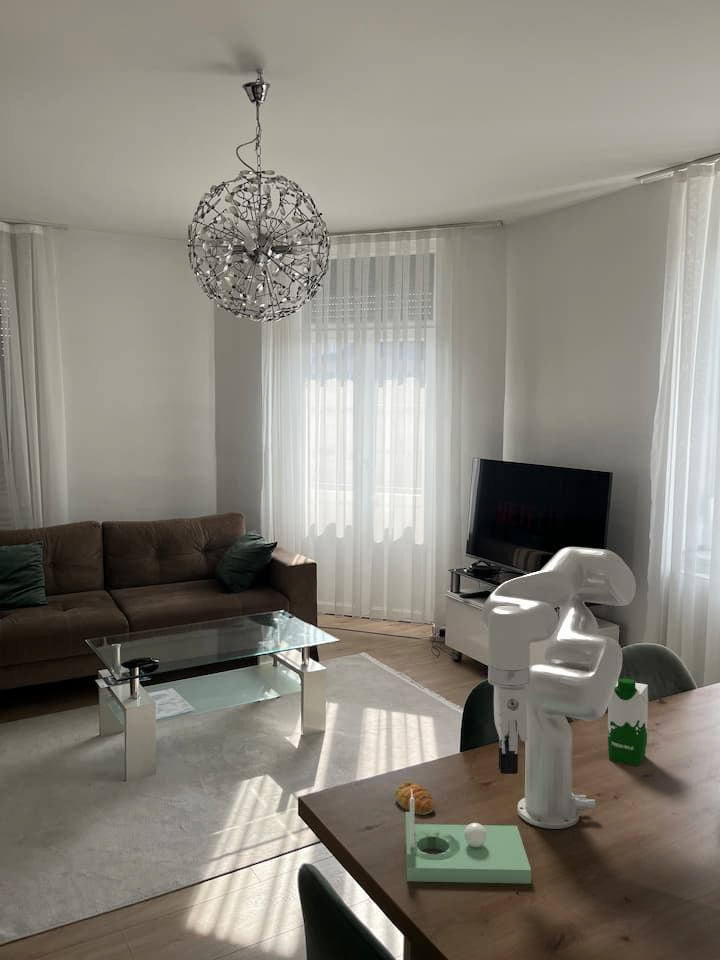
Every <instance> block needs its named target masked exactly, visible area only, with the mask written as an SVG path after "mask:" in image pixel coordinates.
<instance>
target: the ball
mask: <svg viewBox="0 0 720 960" xmlns="http://www.w3.org/2000/svg"><path fill="white" fill-rule="evenodd" d="M467 825H468V826H467V827H466V829H465V832H464V837H465V840H466V842H467V843H468V844H469V845H470V846H472V847H475V848H477V847H481V846H482V845H484V843H485V842H486V839H487V833H486V830H485V828H484V827H483V826H482V825H483V824H481V823H479V822H471V823H469V824H467Z"/></svg>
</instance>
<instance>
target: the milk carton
mask: <svg viewBox="0 0 720 960" xmlns="http://www.w3.org/2000/svg"><path fill="white" fill-rule="evenodd" d="M648 687H649V684H646V683H638V682H636V680H635V679H633V678H629V677H619V679H618V681H617V684H616V686H615V689H614V692H613V694H612V697H611V700H610V702H609V705H608V707H607V713H608V714H607V748H608V760H609V761H614V762H617V763H622V764H626V765H631V766H635V767H640V764H642V761H643V760H644V758H645V756H646V751H647V744H648V722H649V721H648V720H649V719H648V715H649V710H648V709H649V707H648V706H649V697H648V696H649V695H648V693H649V690H648Z"/></svg>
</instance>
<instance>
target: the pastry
mask: <svg viewBox="0 0 720 960" xmlns="http://www.w3.org/2000/svg"><path fill="white" fill-rule="evenodd" d="M411 789H412V791H413V798H414V814H415V813H417V814H416V815H421V816H425V815H427V814H431V813H432V812H433V811H434V810H435V806H436V805H435V802H434V799H433V797H432V796H431V794H430V793H429V792H428V790H427V789H426V788H424V787H423V786H422V785H420V784H415V783H414V782H411V781H407V782H404V783H402V784H401V785H399V787H398V788H397V790H396V792H395V794H394V797H395V801H396V802H397V804H398V805H399V806H400V807H401V808H403V809H404V808H405V809H404V810H407V811H408V810H409V811H408V812H410V798H411Z"/></svg>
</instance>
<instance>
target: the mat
mask: <svg viewBox="0 0 720 960" xmlns="http://www.w3.org/2000/svg"><path fill="white" fill-rule="evenodd" d="M468 825H469V824H431V823H430V824H429V823H427V824H426V823H425V824H422V823H416V824H415V823H414V848H411V847H410V811H405V853H406V854H405V856H406V857H405V859H406V861H405V863H406V882H427V883H429V882H432V883H433V882H434V883H435V882H437V883H439V882H440V883H477V884H478V883H479V884H481V883H485V884H488V883H489V884H490V883H491V884H527V885H528V884H532V869H531V866H530V863H529V862H530V861H529V859H528V856H527V853H526V849H525V846H524V844H523V843H524V842H523V840H522V836H521V834H520V830H519V828H518V825H499V824H498V825H497V824H496V825H490V824H489V825H487V824H485V825H483V824H481V825H482V826H483V827H484V828H485V830H486V833H487V839H486V842H485V843H484V845H482V846H481V847H477V848H475V847H472V846H470V845H469V844H468V843H467V842H466V840H465V837H464V832H465V829H466V827H467V826H468Z"/></svg>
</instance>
